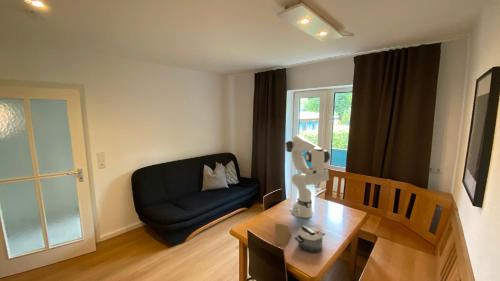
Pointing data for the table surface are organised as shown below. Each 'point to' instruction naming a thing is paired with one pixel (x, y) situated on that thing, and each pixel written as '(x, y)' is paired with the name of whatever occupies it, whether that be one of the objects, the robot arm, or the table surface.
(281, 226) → the sandwich container
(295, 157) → the robot arm
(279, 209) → the table surface
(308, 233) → the lid
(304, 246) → the cooker pot
